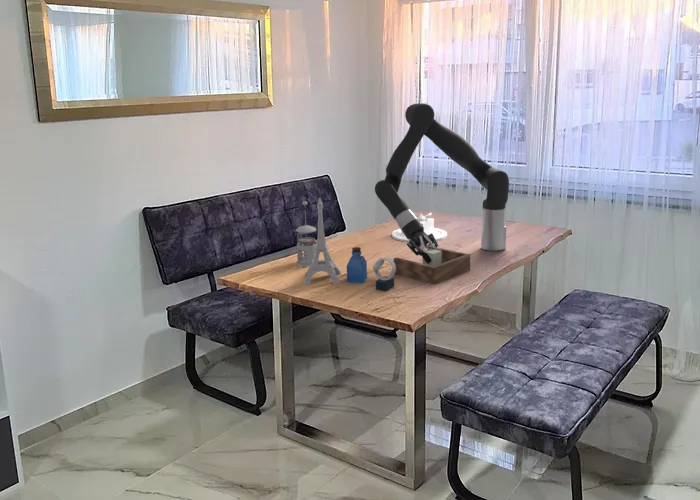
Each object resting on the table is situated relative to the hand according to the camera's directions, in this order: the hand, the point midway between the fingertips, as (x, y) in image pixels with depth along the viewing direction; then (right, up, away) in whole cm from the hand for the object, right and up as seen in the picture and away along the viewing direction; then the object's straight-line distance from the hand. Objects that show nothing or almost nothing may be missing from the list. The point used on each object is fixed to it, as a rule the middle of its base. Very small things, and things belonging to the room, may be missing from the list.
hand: (434, 260), depth 251 cm
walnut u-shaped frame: (-1, -4, +2) cm, 5 cm away
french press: (-49, -1, +17) cm, 52 cm away
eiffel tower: (-41, -7, -2) cm, 42 cm away
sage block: (-1, -4, +2) cm, 5 cm away
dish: (0, +10, +54) cm, 55 cm away
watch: (-19, -10, -14) cm, 26 cm away
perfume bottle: (-29, -7, -5) cm, 30 cm away
